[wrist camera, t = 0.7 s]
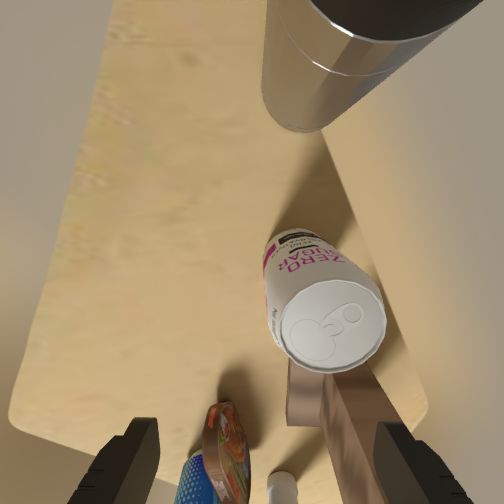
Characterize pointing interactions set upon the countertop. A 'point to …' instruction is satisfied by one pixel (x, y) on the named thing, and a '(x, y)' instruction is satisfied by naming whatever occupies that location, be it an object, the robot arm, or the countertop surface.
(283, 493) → the bottle
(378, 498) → the stand
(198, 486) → the beer can
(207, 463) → the tin
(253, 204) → the countertop surface
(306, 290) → the supplement can
